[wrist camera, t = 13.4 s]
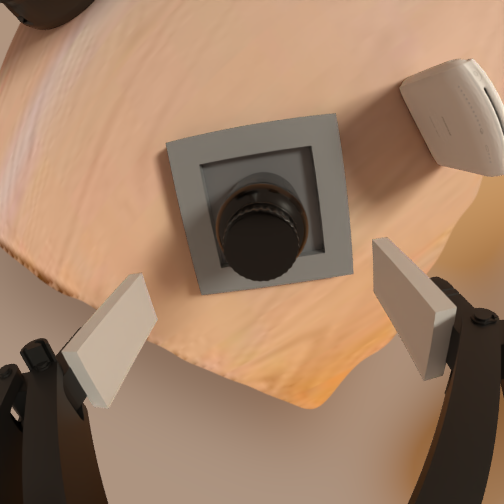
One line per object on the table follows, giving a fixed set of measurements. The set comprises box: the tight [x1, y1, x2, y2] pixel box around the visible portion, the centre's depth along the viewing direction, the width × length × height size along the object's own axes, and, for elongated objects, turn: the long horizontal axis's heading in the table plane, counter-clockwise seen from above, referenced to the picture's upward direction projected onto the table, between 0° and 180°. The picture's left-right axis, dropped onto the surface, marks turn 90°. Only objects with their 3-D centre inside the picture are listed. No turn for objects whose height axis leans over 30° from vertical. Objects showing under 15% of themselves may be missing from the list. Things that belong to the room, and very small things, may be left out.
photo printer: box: [399, 58, 504, 177], centre depth 21 cm, size 10×4×12 cm, turn 33°
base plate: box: [166, 113, 353, 295], centre depth 31 cm, size 16×16×2 cm
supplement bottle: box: [216, 172, 309, 282], centre depth 25 cm, size 7×7×12 cm
